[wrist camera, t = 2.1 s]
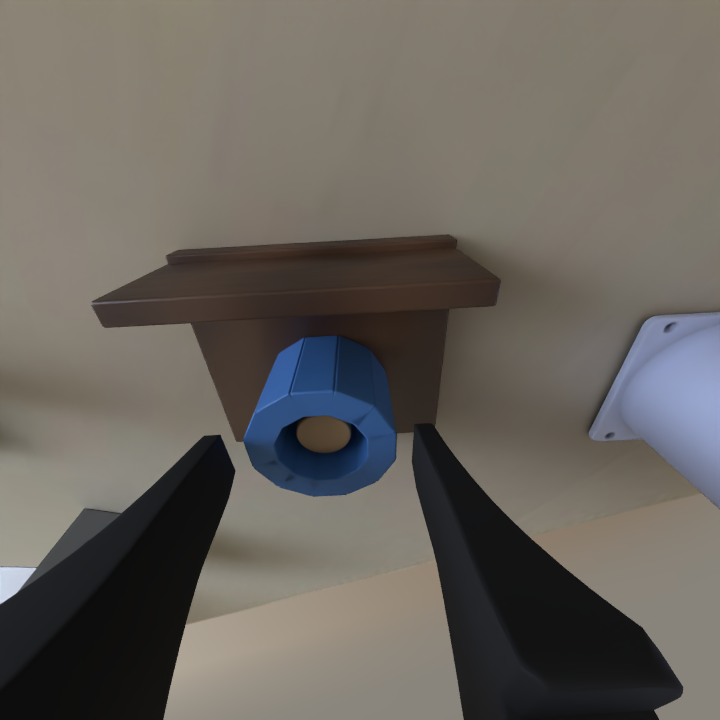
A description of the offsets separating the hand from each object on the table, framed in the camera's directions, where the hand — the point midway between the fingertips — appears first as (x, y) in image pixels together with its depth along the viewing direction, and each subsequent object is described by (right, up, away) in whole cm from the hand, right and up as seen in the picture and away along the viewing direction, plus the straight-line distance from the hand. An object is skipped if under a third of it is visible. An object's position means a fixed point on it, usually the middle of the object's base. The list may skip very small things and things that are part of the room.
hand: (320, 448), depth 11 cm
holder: (0, +4, +3) cm, 5 cm away
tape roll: (0, +2, +3) cm, 4 cm away
